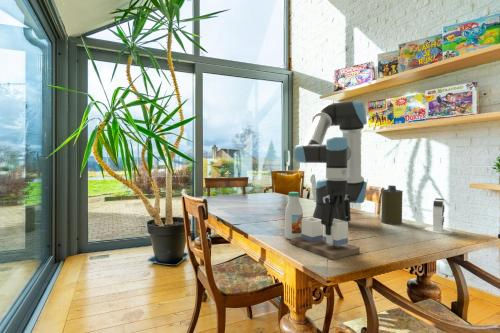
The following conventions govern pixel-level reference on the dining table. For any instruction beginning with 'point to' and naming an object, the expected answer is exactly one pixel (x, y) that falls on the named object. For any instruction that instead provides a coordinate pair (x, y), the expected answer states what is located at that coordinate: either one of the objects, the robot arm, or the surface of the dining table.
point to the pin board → (326, 248)
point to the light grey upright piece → (438, 218)
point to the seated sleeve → (312, 229)
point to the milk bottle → (293, 217)
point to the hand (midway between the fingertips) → (336, 241)
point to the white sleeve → (339, 232)
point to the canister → (391, 206)
